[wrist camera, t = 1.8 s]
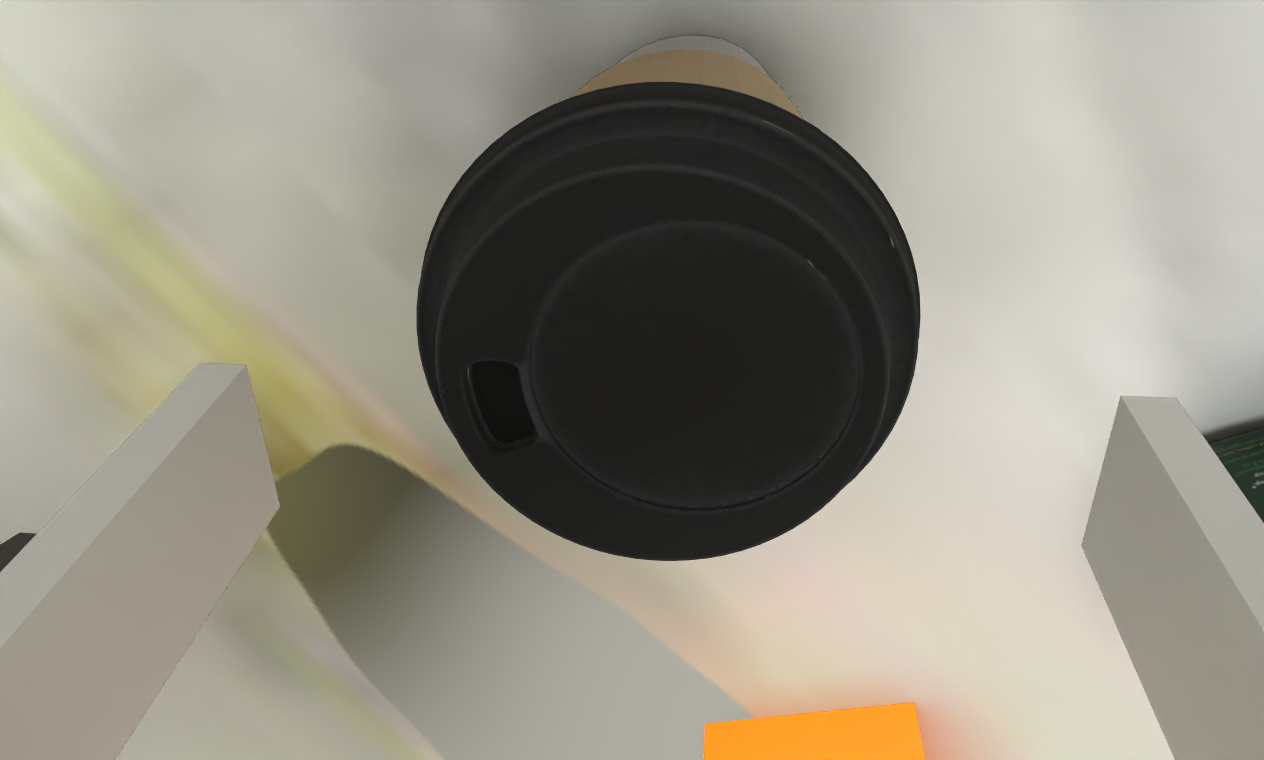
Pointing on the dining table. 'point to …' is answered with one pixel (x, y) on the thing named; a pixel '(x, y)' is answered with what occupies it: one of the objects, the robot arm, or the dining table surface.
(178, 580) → the robot arm
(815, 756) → the orange juice
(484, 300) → the coffee cup
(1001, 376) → the dining table surface
